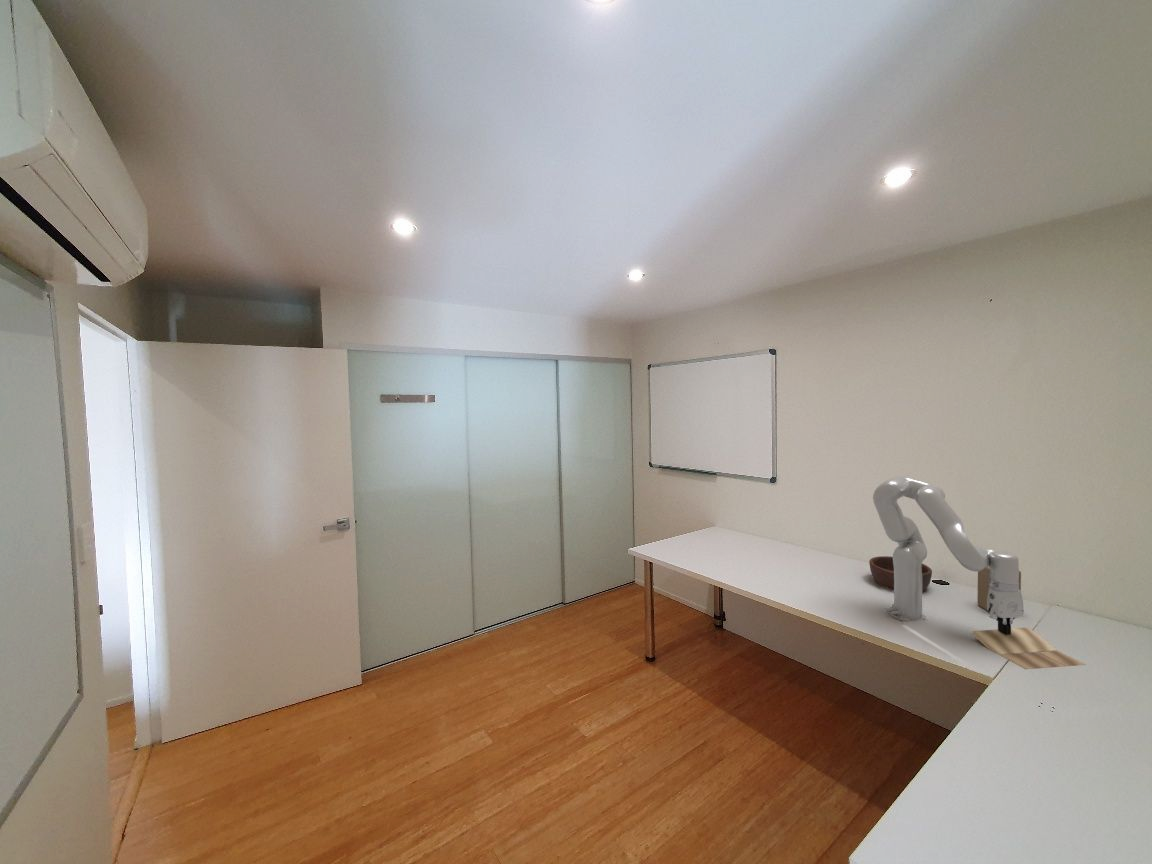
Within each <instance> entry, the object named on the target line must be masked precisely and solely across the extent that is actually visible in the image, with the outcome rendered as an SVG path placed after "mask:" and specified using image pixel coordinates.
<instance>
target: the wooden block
mask: <svg viewBox="0 0 1152 864" xmlns="http://www.w3.org/2000/svg"><path fill="white" fill-rule="evenodd" d="M1021 572H1022V571H1020V570H1019V590H1020V591H1021V592H1022V573H1021ZM989 584H990V568H989V567H988V566H987V567H986V568H985V569H984V570H982V571H978V572H977V606H979V607H980V608H982V609H984V610H985V611H987V597H988V591H989V587H990V585H989Z"/></svg>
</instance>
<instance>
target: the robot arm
mask: <svg viewBox="0 0 1152 864" xmlns="http://www.w3.org/2000/svg"><path fill="white" fill-rule="evenodd" d="M903 497H904V498H909V499H912V500H914V501H915V502H916V504H917V505H918V506H919V508H920V509H921V510H922V512H923V513H924V514H925V515H926V516H927V518H928V519H929V520H930V522H931V523H932V524H933V525H934V526H935V528H936V529H937V530H938V533H939V535H940V537H941V539H942V541H943V542H944V544H945V545H946V546H947V549H948V550H949V552H950V553H951V554H952V555H953V557H955V559H956V560H957V561H958V563H959V564H960V565H961V566H962V567H964V568H965V569H966V570H968V571H971V572H977V573H978V571H982V570H984V569H985V568H986V567H987V566H988V567H989V568H990V584H989V585H990V587H989V591H988V597H987V610H986V611H987V612H988V613H989V615H988V617H989V619H993V620H996V622H997V629H998V631H999V632H1001V633H1003V634H1005V635H1011V628H1012V625H1013V623H1014V620H1015V619H1017V618H1020V617H1024V614H1025V606H1024V599H1023V595H1022V590H1021V591H1020V590H1019V571H1020V570H1019V567H1020V565H1019V562H1020V561H1019V560H1020V559H1019V557H1018V556H1017V555H1016V554H1014V553H1012V552H1008V551H1001V550H993V549H990V548H986V547H983V546H978V545H974V544H972V542H971V541H970V539H969V537H968V536H967V534H966V531H965V528H964V523H963V520H962V519H961V518H960V516H959V515H958V514H957V513H956V511H954V509H953V508H952V507H951V506H950V504H949V503H948V502H947V501H946V500H945V499H946V498H945V497H946V494H945V492H944V490H943V489H942V488H941V487H939V486H937V485H933V484H931V483H927V482H923V481H919V480H915V479H913V478H909V477H905V476H894V477H891V478H889V479H887V480H885V481H883V482H882V483H881V484H879V485H878V486H877V487H876V489H875V490H874V492H873V496H872V499H873V504H874V507H875V509H876V512H877V515H878V516H879V520H880V522H881V524H882V527H883V530H884V533H885V535H886V536H887V537H888V539H889V540H891V541H893V542H896V543H897V545H898V546H897V547H896V548H895V549H894V551H893V552H892V557H893V565H894V590H893V602H894V603H891V606H890V607H883V612H884V613H889V614H890V616H892V617H893V618H895V619H896V618H897V620H898V621H901V620H902V622H915V621H916V622H917V621H919V622H920V621H927V620H928V617H927V616H926V615H925V614H923V591H922V568H921V565H922V564H923V562H924V561H925V559H926V558H927V556H928V549H927V546H926V543H925V541H924V538H923V537H922V535H921V532H920V530H919V527H918V526H917V524H916V523H915V521H914V520H912V519H911V518H910V517H908V516H905V515H904V514H903V511H902V508H901V506H900V505H899V503H898V500H899V499H901V498H903Z"/></svg>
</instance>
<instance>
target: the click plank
mask: <svg viewBox="0 0 1152 864" xmlns="http://www.w3.org/2000/svg"><path fill="white" fill-rule="evenodd" d="M971 635H973V637H974V638H976V639H977V640H978V642H980V643H981V644H983V645H984V646H985V647H986V648H987V649H988V650H990V651H992V652H993V653H995V654H996V655H999V656H1001V655H1008V654H1022V653H1036V652H1050V651H1058V650H1057V649H1056V648H1055V647H1054V646H1053V645H1051V644H1050V643H1049V642H1047V641H1046V640H1045V639H1043V637H1041V636H1040V635H1038V633H1036V632H1034V631H1033V630H1032V629H1030V628H1029V627H1015V628H1014V627H1013V628H1012V627H1011V635H1005V634H1003V633H1001V632H999V631H998V628H997V629H985V630H973V631H972V632H971Z"/></svg>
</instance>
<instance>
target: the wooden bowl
mask: <svg viewBox="0 0 1152 864" xmlns="http://www.w3.org/2000/svg"><path fill="white" fill-rule="evenodd" d="M868 563H869V568H870V573H871V577H873V579H874V581H875V582H876V583H877V584H878V585H880V586H881V587H884V588H887V589H889V590H893V591H894V565H893V556H886V555H885V556H875V557H872V558H870V559H869V561H868ZM921 568H922V592H924V591H926V589H927V588H929V586H930V583H931V579H932V576H933V575H932V574H933V569H932V568H931V567H929V566H928V565H927V564H925V563H922V565H921Z"/></svg>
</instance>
